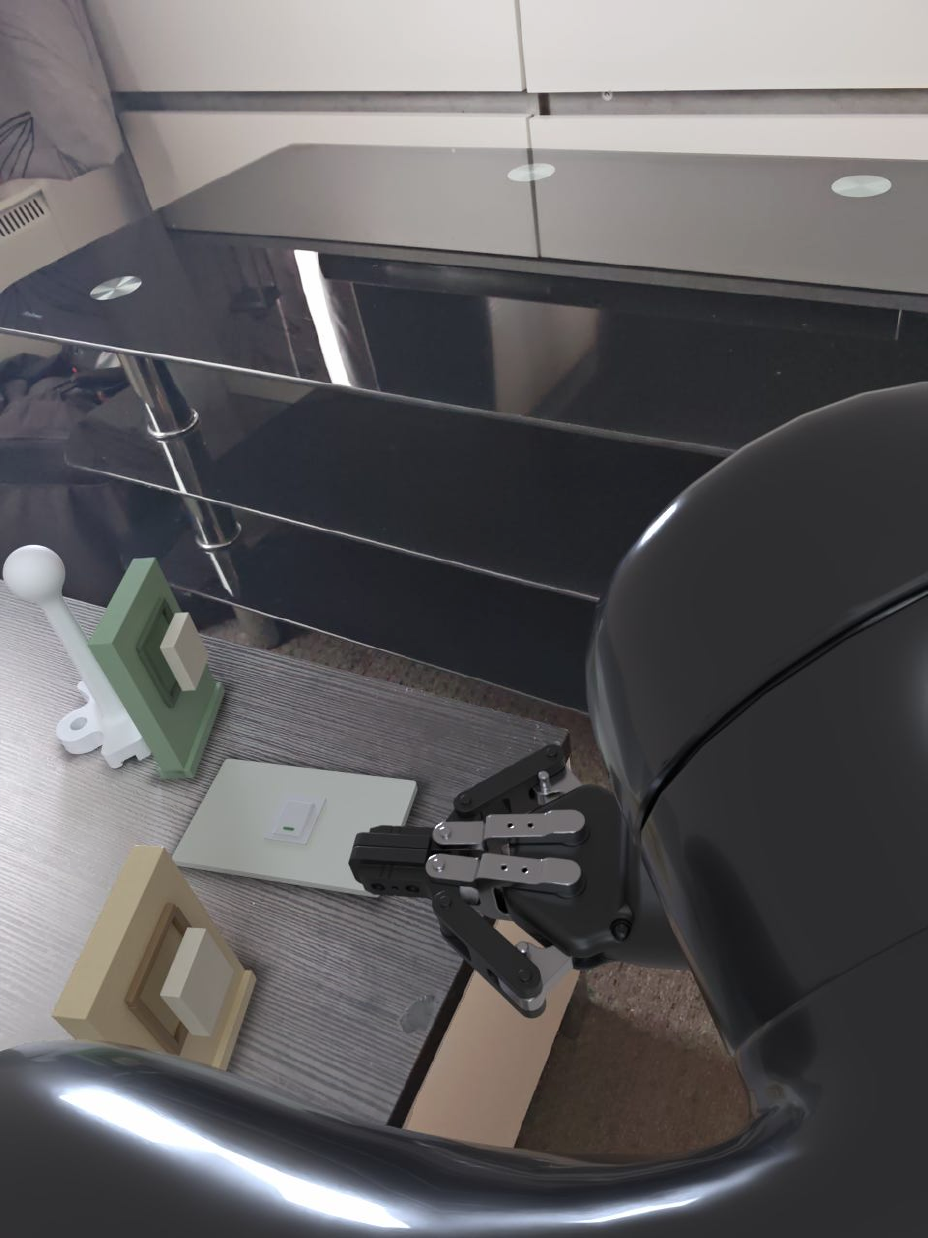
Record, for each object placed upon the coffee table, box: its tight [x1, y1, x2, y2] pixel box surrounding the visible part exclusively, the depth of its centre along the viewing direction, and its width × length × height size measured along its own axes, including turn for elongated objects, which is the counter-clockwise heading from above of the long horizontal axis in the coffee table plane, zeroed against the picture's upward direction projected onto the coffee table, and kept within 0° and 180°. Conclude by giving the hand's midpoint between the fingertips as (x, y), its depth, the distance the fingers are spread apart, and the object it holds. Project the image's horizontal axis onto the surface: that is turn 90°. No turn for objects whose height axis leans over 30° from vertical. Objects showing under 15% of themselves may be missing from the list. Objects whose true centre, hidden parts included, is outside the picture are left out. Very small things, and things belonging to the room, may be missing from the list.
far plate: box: [87, 557, 226, 780], centre depth 76 cm, size 3×10×16 cm, turn 176°
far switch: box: [160, 612, 210, 691], centre depth 74 cm, size 1×4×5 cm, turn 176°
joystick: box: [2, 544, 152, 769], centre depth 77 cm, size 11×8×20 cm
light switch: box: [171, 758, 419, 898], centre depth 71 cm, size 17×1×10 cm
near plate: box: [50, 844, 258, 1071], centre depth 54 cm, size 3×10×16 cm, turn 171°
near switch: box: [160, 927, 234, 1037], centre depth 52 cm, size 1×4×5 cm, turn 171°
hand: (355, 858), depth 43 cm, fingers closed
